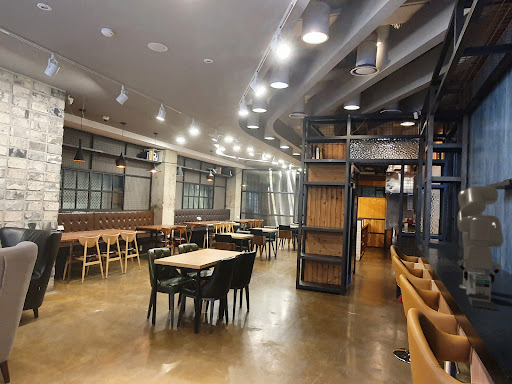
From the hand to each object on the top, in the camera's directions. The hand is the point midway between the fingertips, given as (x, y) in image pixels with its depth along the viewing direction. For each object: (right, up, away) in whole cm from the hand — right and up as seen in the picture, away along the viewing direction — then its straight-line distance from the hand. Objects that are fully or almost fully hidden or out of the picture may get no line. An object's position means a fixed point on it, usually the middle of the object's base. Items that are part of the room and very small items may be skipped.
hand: (478, 281), depth 162 cm
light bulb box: (0, -8, 0) cm, 8 cm away
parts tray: (-7, -6, -12) cm, 15 cm away
